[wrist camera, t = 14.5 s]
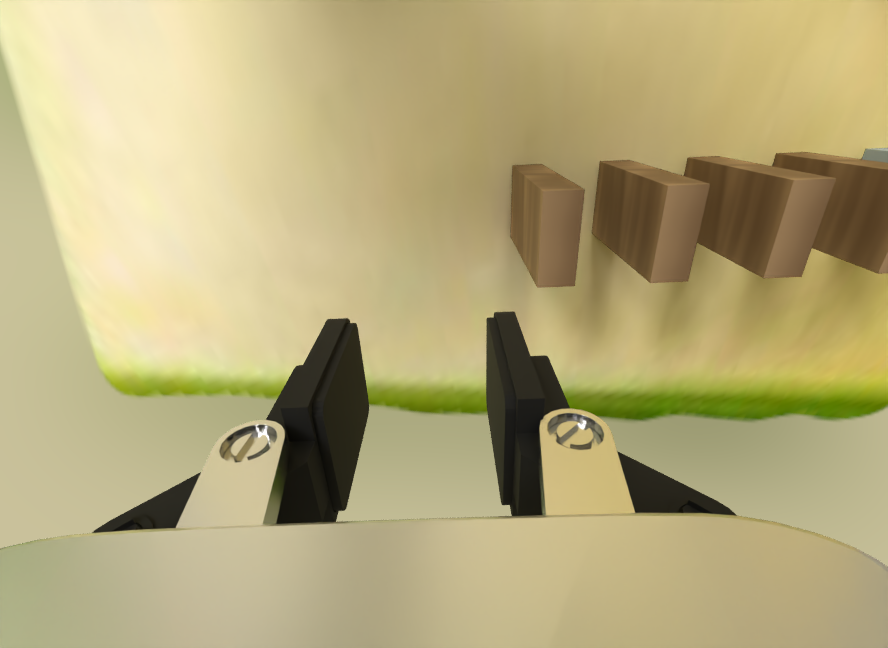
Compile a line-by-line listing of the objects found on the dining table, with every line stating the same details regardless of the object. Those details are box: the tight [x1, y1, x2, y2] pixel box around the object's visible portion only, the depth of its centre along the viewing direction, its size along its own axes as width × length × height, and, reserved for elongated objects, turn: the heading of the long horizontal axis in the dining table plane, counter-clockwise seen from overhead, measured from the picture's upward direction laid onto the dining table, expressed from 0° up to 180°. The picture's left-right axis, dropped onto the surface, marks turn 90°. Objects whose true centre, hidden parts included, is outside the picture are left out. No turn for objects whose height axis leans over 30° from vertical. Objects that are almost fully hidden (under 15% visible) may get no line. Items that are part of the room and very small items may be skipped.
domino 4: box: [773, 152, 888, 274], centre depth 26 cm, size 2×5×10 cm, turn 2°
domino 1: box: [511, 164, 585, 287], centre depth 26 cm, size 2×5×10 cm, turn 2°
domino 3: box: [684, 156, 836, 278], centre depth 26 cm, size 2×5×10 cm, turn 3°
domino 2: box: [592, 160, 710, 283], centre depth 26 cm, size 2×5×10 cm, turn 2°
